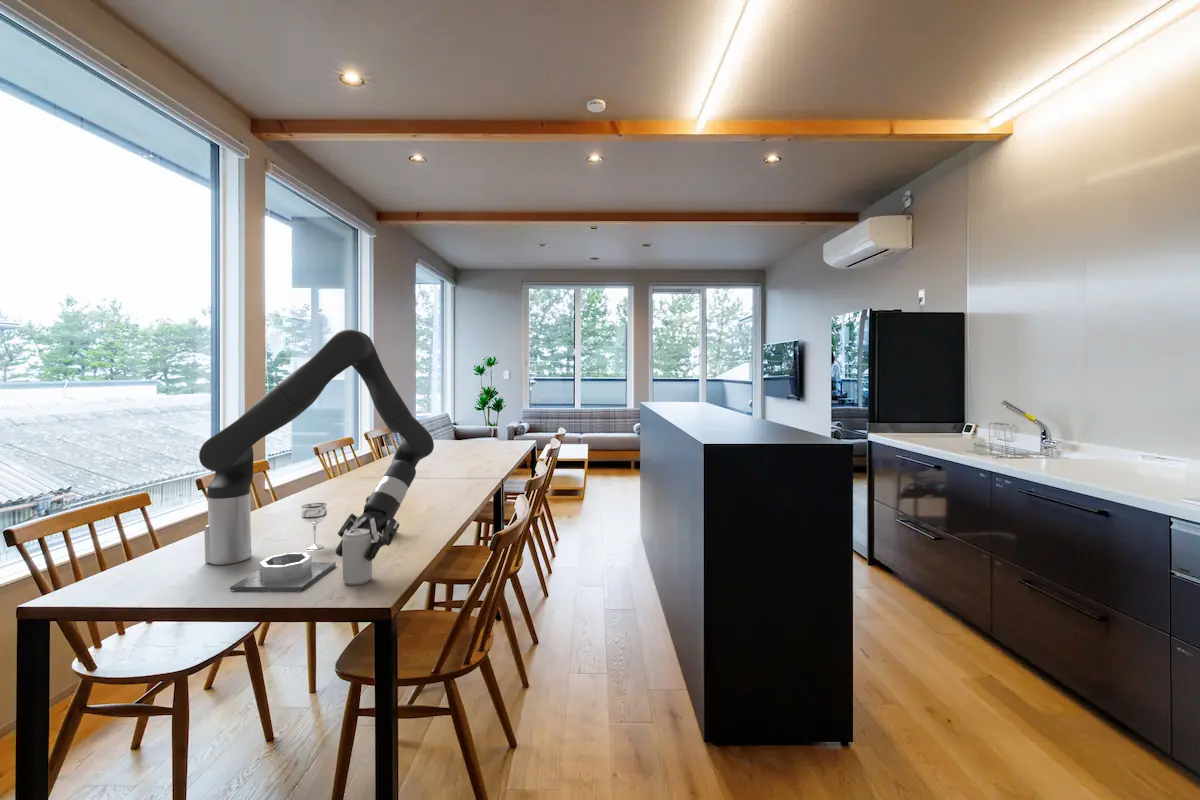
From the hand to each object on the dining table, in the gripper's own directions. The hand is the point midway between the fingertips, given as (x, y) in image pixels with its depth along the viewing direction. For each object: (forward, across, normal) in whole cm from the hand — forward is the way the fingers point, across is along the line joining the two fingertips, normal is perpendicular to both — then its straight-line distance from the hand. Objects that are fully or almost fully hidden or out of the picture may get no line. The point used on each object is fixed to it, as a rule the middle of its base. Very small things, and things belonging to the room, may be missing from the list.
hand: (353, 557), depth 126 cm
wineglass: (-8, -30, +16) cm, 35 cm away
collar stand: (+6, -18, +2) cm, 19 cm away
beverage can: (+4, 0, +6) cm, 7 cm away
